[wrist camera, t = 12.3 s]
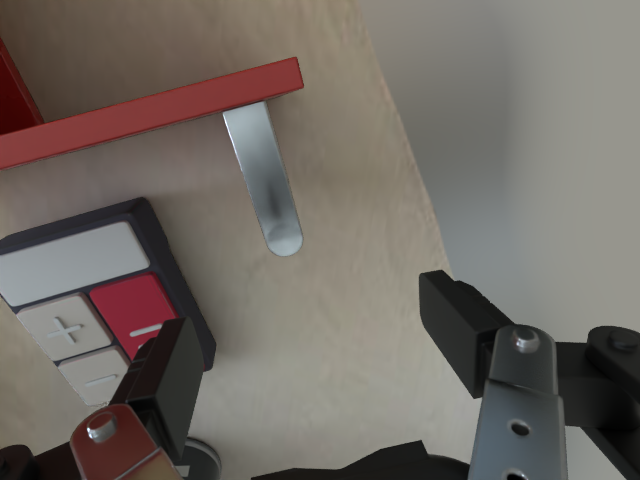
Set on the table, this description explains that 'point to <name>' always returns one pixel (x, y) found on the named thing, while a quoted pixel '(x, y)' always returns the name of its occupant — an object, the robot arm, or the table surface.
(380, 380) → the table surface
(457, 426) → the table surface
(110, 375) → the calculator
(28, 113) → the cabinet
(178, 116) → the red cabinet door
